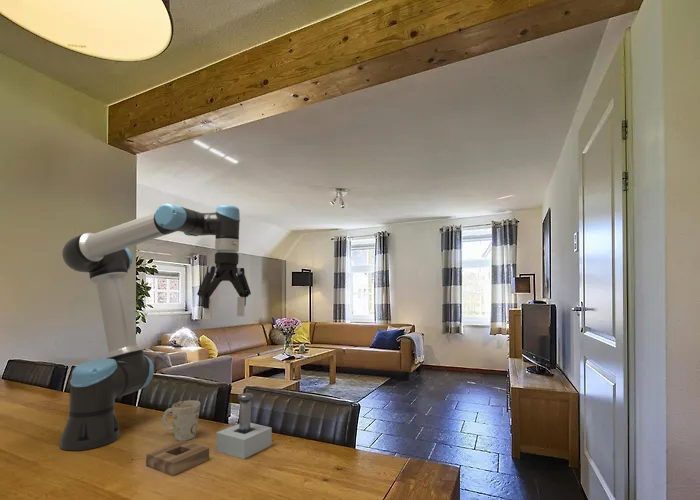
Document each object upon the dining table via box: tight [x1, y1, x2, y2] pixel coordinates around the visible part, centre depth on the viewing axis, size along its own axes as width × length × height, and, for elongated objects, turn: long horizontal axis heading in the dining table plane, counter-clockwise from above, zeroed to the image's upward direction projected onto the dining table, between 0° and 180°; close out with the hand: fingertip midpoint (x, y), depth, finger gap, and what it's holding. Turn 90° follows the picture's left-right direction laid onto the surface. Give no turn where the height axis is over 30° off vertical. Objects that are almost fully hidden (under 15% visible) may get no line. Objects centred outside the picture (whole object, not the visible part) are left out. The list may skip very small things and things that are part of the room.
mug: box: [162, 399, 201, 442], centre depth 125 cm, size 8×13×10 cm, turn 78°
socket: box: [215, 422, 273, 460], centre depth 116 cm, size 11×11×5 cm
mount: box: [145, 440, 210, 477], centre depth 106 cm, size 11×11×3 cm
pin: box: [237, 392, 254, 434], centre depth 116 cm, size 4×4×15 cm
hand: (224, 317), depth 129 cm, fingers open, 13 cm apart
